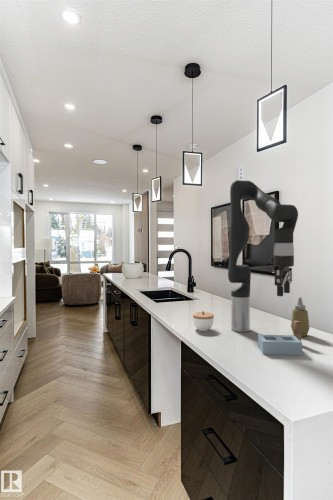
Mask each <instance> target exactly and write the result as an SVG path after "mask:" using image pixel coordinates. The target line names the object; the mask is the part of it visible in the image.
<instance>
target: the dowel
mask: <svg viewBox="0 0 333 500" xmlns="http://www.w3.org/2000/svg"><path fill="white" fill-rule="evenodd" d="M293 335H294V336H295V337H297V338H298V339H299V340H300V341H301V342H302V336H301V321H294V334H293Z"/></svg>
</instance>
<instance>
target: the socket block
mask: <svg viewBox="0 0 333 500" xmlns="http://www.w3.org/2000/svg"><path fill="white" fill-rule="evenodd" d="M257 347H258V349H259V350H260V352H261V354H262V355H277V356H278V355H281V356H282V355H283V356H284V355H286V356H303V342H302V340H301V341H300V340H299V339H298V338H297V337H295V336H294V334H293V335H292V334H291V335H289V334H286V335H285V334H283V335H282V334H257Z"/></svg>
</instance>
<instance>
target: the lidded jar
mask: <svg viewBox="0 0 333 500" xmlns="http://www.w3.org/2000/svg"><path fill="white" fill-rule="evenodd" d="M214 318H215V315H214V314H213V313H211V312H205V311H202V310H201V311H200V312H195V313H193V314H192V321H193V325H194V327H195V329H197V331H200V332H208V331H209V330H210V329H211V328H212V327H213V325H214Z"/></svg>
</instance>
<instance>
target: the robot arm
mask: <svg viewBox="0 0 333 500" xmlns="http://www.w3.org/2000/svg"><path fill="white" fill-rule="evenodd" d="M229 189H230V190H229V195H230V196H229V198H230V199H229V200H230V201H229V202H230V233H229V235H230V236H229V245H230V246H229V258H228V269H227V276H228V277H227V279H228V281H229V283H231V284H241V285H240V286H238V287H237V288H233V289H232V290H231V291H230V300H231V303H230V306H231V307H230V309H231V310H230V311H231V312H230V315H231V316H230V318H231V321H230V329H231V330H232V331H235V332H239V333H248V332H249V331H250V330H251V327H250V326H251V322H250V321H251V319H250V318H251V317H250V316H251V310H250V309H251V303H250V301H251V300H250V299H251V298H250V297H251V295H250V293H251V279H252V278H251V277H252V276H251V275H252V272H251V268H250V266H249V265H248V264H237V262H238V259H239V257H240V254H241V253H242V252H243V250H244V249H245V247H246V246H247V245H248V242H249V239H250V224H249V222H248V220H247V218H246V216H245V215H244V213H243V210H242V201H243V200H244V201H245V200H246V201H247V200H251V201H254V203H255V205H256V207H257V208H258V209H259V210H260V211H262V212H264V213H265V214H266V215H267V216H268V217H269V219H271V220H272V221H273V222H277V223H283V224H282V226H281V227H280V228H277V229H275V230H274V245H273V266H274V267H278V268H277V269H275V270H274V286H276V296H277V297H284V294H290V293H291V283H292V281H293V273H292V271H293V269H292V267H294V266H295V247H294V232H295V229H296V225H297V222H298V218H299V211H298V208H297V207H296V205H294V204H293V205H292V204H284V203H283V204H281V202H280V201H279V200H278V199H277V198H275V197H273V196H272V195H270V194H267V193H266V192H265V191H263V190H262V189H261V188H260V187H258V185H256V184H255V183H254V182H253V181H250V180H242V179H241V180H238V179H237V180H233V181H232V182H231V185H230V188H229Z"/></svg>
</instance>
